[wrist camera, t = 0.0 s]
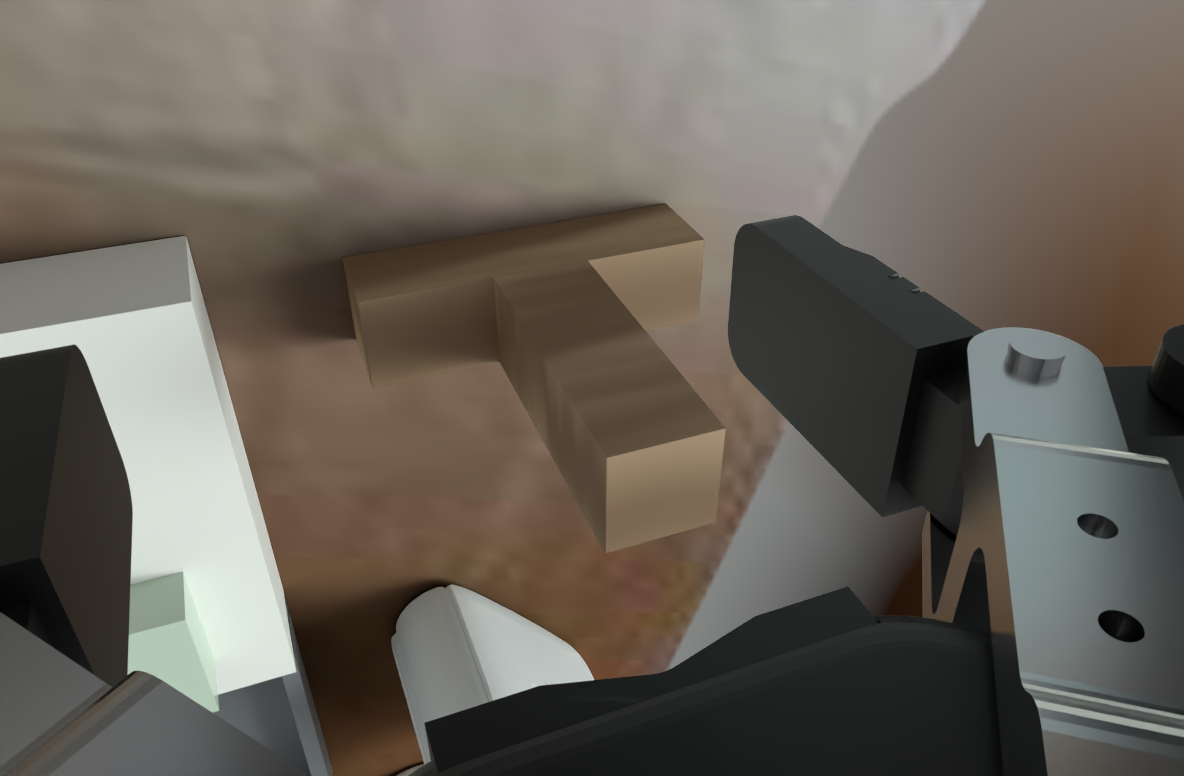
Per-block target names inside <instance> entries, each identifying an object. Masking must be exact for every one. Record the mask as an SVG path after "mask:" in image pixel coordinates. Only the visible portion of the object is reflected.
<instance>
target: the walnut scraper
mask: <svg viewBox="0 0 1184 776" xmlns="http://www.w3.org/2000/svg"><path fill="white" fill-rule="evenodd" d="M703 253H704V239H703V238H702V237H701V236H700V235H699V234H698V233H697V232H696V231H695V230H694V229H693V228H692V227H690V226H689V225H688V224H687V223H686V222H685V221H684V220H683V219H682V218H681V217H680V216H679V215H677V214H676V213H675V212H674V211H673V210H672V209H671V208H670V207H669V206H668V205H667V204H660V205H654V206H648V207H642V208H636V209H630V210H624V211H618V212H612V213H606V214H600V215H594V216H587V217H581V218H575V219H569V220H563V221H557V222H551V223H545V224H539V225H533V226H527V227H521V228H515V229H509V230H503V231H497V232H491V233H485V234H479V235H473V236H467V237H461V238H455V239H449V240H443V241H437V242H431V243H425V244H419V245H413V246H407V247H401V248H395V249H389V250H383V251H377V252H370V253H364V254H358V255H352V256H346V257H342V260H343V265H344V271H345V277H346V283H347V289H348V295H349V300H350V306H351V312H352V318H353V324H354V330H355V336H356V340H357V343H358V346H359V349H360V352H361V355H362V358H363V361H364V364H365V367H366V370H367V372H368V375H369V378H370V381H371V384H372V387H373V388H375V387H380V386H384V385H389V384H394V383H399V382H404V381H408V380H413V379H418V378H423V377H428V376H432V375H437V374H442V373H447V372H451V371H456V370H461V369H466V368H471V367H475V366H480V365H485V364H490V363H495V362H500V363H501V365H502V367H503V369H504V371H505V372H506V374H507V376H508V378H509V380H510V381H511V383H512V385H513V387H514V389H515V391H516V392H517V394H518V396H519V398H520V400H521V401H522V403H523V405H524V407H525V409H526V410H527V412H528V414H529V416H530V418H531V419H532V421H533V423H534V425H535V427H536V428H537V430H538V432H539V434H540V436H541V437H542V439H543V441H544V443H545V445H546V446H547V448H548V450H549V452H550V454H551V455H552V457H553V459H554V461H555V463H556V464H557V466H558V468H559V470H560V472H561V474H562V475H563V477H564V479H565V481H566V483H567V484H568V486H569V488H570V490H571V492H572V493H573V495H574V497H575V499H576V501H577V502H578V504H579V506H580V508H581V510H582V511H583V513H584V515H585V517H586V519H587V520H588V522H589V524H590V526H591V528H592V529H593V531H594V533H595V535H596V537H597V538H598V540H599V542H600V544H601V546H602V548H603V549H604V551H605V553H608V552H612V551H615V550H619V549H622V548H626V547H629V546H633V545H637V544H640V543H644V542H647V541H651V540H654V539H658V538H661V537H665V536H669V535H672V534H676V533H679V532H683V531H686V530H690V529H693V528H697V527H701V526H704V525H708V524H711V523H715V522H716V515H717V505H718V496H719V486H720V477H721V467H722V458H723V448H724V439H725V429H726V428H725V427H724V426H723V425H722V423H721V422H720V421H719V420H718V419H717V417H716V416H715V415H714V414H713V412H712V411H711V410H710V409H709V408H708V406H707V405H706V404H705V403H704V402H703V400H702V399H701V398H700V397H699V395H698V394H697V393H696V392H695V391H694V389H693V388H692V387H691V386H690V384H689V383H688V382H687V381H686V380H685V378H684V377H683V376H682V375H681V374H680V372H679V371H678V370H677V369H676V367H675V366H674V365H673V364H672V363H671V361H670V360H669V359H668V358H667V356H666V355H665V354H664V353H663V352H662V350H661V349H660V348H659V347H658V346H657V344H656V343H655V342H654V341H653V339H652V338H651V337H650V336H649V335H648V333H647V332H646V331H648V330H653V329H657V328H662V327H667V326H672V325H677V324H681V323H686V322H691V321H696V320H698V318H699V305H700V292H701V279H702V266H703Z"/></svg>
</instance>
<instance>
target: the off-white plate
mask: <svg viewBox="0 0 1184 776" xmlns="http://www.w3.org/2000/svg"><path fill="white" fill-rule="evenodd" d="M69 345H76V346H77V347H78V348H79V349H80V350H81V352H82V354H83V356H84V358H85V360H86V362H87V365H88V367H89V370H90V373H91V375H92V378H93V381H94V384H95V386H96V389H97V392H98V394H99V397H100V400H101V403H102V405H103V408H104V411H105V413H106V416H107V419H108V422H109V424H110V427H111V430H112V432H113V435H114V438H115V440H116V443H117V446H118V449H119V451H120V454H121V457H122V460H123V463H124V466H125V469H126V473H127V477H128V482H129V486H130V492H131V498H132V508H133V520H132V551H131V582H130V585H132V584H136V583H140V582H144V581H148V580H152V579H156V578H160V577H164V576H168V575H172V574H176V573H180V572H184V575H185V578H186V581H187V584H188V586H189V589H190V592H191V595H192V598H193V600H194V603H195V606H196V609H197V612H198V614H199V617H200V620H201V623H202V625H203V628H204V631H205V634H206V637H207V639H208V642H209V645H210V648H211V651H212V653H213V656H214V659H215V662H216V676H217V689H218V695H219V694H222V693H226V692H229V691H233V690H236V689H239V688H243V687H246V686H250V685H253V684H257V683H260V682H264V681H267V680H270V679H274V678H277V677H281V676H284V675H288V674H291V673H294V672H296V667H295V660H294V654H293V648H292V641H291V635H290V629H289V623H288V616H287V610H286V604H285V598H284V591H283V587H282V584H281V580H280V576H279V573H278V569H277V565H276V562H275V558H274V554H273V551H272V547H271V543H270V540H269V536H268V533H267V529H266V525H265V522H264V518H263V514H262V511H261V507H260V503H259V500H258V496H257V492H256V489H255V485H254V482H253V478H252V474H251V471H250V467H249V463H248V460H247V456H246V452H245V449H244V445H243V441H242V438H241V434H240V431H239V427H238V423H237V420H236V416H235V412H234V409H233V405H232V401H231V398H230V394H229V390H228V387H227V383H226V380H225V376H224V372H223V369H222V365H221V361H220V358H219V354H218V350H217V347H216V343H215V340H214V336H213V332H212V329H211V325H210V321H209V318H208V314H207V310H206V307H205V303H204V299H203V296H202V292H201V289H200V285H199V281H198V278H197V274H196V270H195V267H194V263H193V259H192V256H191V252H190V248H189V245H188V241H187V238H186V236H180V237H174V238H167V239H160V240H154V241H147V242H141V243H134V244H128V245H121V246H114V247H108V248H101V249H95V250H88V251H81V252H75V253H68V254H62V255H55V256H48V257H42V258H35V259H29V260H22V261H16V262H9V263H2V264H0V358H2V357H8V356H13V355H19V354H24V353H30V352H35V351H41V350H47V349H52V348H58V347H63V346H69Z"/></svg>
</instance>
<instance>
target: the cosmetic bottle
mask: <svg viewBox="0 0 1184 776" xmlns="http://www.w3.org/2000/svg"><path fill="white" fill-rule="evenodd" d="M423 765H424V764H421V765H418V766H415V767H413V768H410V769H408V770H406V771H403V772H401V773H400V774H398V775H396V776H408V775H409V774H410V773H412V772H414V771H415V770H417V769H418V768H420V767H422V766H423Z"/></svg>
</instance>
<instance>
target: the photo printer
mask: <svg viewBox="0 0 1184 776" xmlns="http://www.w3.org/2000/svg"><path fill="white" fill-rule="evenodd" d="M391 644H392V650H393V655H394V658H395V663H396V666H397V669H398V672H399V677H400V680H401V683H402V687H403V690H404V693H405V697H406V700H407V704H408V708H409V711H410V715H411V719H412V722H413V726H414V729H415V733H416V736H417V740H418V743H419V747H420V750H421V754H422V758H423V761H424V765H425V764H426V763H428V762H430V761H431V758H430V752H429V747H428V741H427V736H426V730H425V725H424V723H425V722H428V721H431V720H434V719H438V718H441V717H444V716H447V715H450V714H453V713H456V712H459V711H462V710H466V709H469V708H472V707H475V706H478V705H481V704H484V703H487V702H490V701H494V700H497V699H500V698H503V697H506V696H509V695H512V694H515V693H518V692H522V691H525V690H528V689H531V688H534V687H537V686H541V685H551V684H561V683H571V682H581V681H591V680H594V678H593V676H592V674H591V672H590V670H589V668H588V667H587V665H586V663H585V662H584V660H583V659H582V658H581V656H580V655H579V654H578V653H577V652H576V650H575V649H574V648H572V647H571V646H570V645H569V644H568V643H566V642H565V641H563V640H561V639H560V638H558V637H557V636H555V635H553V634H552V633H550V632H548V631H547V630H545V629H543V628H542V627H540V626H538V625H536V624H535V623H533V622H531V621H529V620H527V619H526V618H524V617H522V616H520V615H518V614H517V613H515V612H513V611H511V610H509V609H507V608H505V607H503V606H501V605H499V604H497V603H495V602H493V601H491V600H489V599H487V598H486V597H484V596H481V595H479V594H477V593H475V592H473V591H471V590H468V589H466V588H463V587H460V586H456V585H448V586H447V587H446V588H444V587H437V588H434V589H431V590H429V591H427V592H425V593H423V594H422V595H420V596H419V597H417V598H416V599H414V600H413V601H412V602H411V603H410V604H409V605H408V606H407V607H406V608H405V609H404V610H403V612H402V613H401V614H400V616H399V618H398V620H397V623H396V634H394V635H393V636H392V638H391Z"/></svg>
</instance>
